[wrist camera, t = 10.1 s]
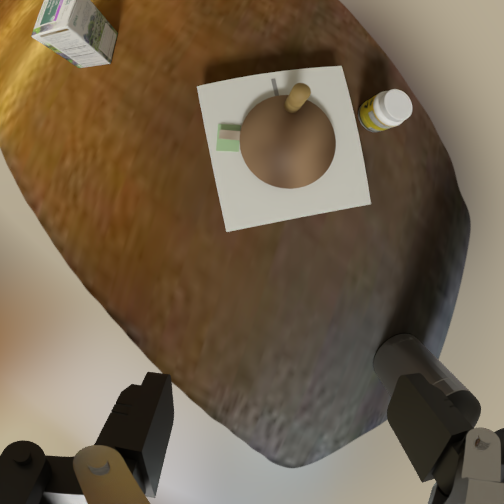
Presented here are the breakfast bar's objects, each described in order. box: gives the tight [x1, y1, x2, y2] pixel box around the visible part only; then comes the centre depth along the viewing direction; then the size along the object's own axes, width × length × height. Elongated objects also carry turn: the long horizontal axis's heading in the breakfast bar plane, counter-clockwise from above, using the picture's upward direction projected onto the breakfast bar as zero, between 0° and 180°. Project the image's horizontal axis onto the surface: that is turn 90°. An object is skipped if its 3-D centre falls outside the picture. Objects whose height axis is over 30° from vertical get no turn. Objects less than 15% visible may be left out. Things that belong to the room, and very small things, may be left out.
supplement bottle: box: [358, 89, 412, 132], centre depth 35 cm, size 5×5×8 cm
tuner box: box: [197, 66, 371, 232], centre depth 37 cm, size 18×18×5 cm
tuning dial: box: [219, 83, 336, 189], centre depth 31 cm, size 13×11×7 cm
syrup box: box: [31, 0, 118, 68], centre depth 28 cm, size 6×6×14 cm
